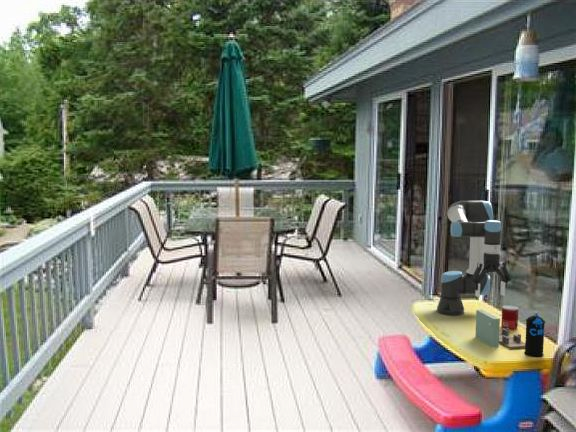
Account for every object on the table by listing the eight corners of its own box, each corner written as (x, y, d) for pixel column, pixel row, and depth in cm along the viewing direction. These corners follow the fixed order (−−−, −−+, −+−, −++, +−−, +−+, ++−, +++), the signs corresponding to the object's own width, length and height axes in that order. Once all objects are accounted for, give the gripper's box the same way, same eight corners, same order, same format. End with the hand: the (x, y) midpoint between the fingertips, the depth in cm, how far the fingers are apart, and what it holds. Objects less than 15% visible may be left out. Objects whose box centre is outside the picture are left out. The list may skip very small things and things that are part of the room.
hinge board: (482, 333, 300) (483, 325, 299) (500, 332, 302) (500, 324, 301) (510, 349, 276) (510, 340, 276) (529, 347, 278) (529, 339, 278)
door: (473, 337, 294) (474, 310, 292) (480, 336, 295) (481, 309, 293) (490, 347, 279) (491, 319, 277) (498, 347, 279) (499, 318, 278)
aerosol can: (520, 351, 274) (522, 309, 271) (537, 350, 274) (539, 309, 272) (529, 357, 266) (531, 314, 263) (547, 356, 266) (549, 314, 264)
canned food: (518, 330, 305) (519, 309, 304) (502, 329, 307) (503, 308, 305) (516, 325, 312) (517, 305, 311) (500, 324, 314) (501, 304, 313)
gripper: (472, 255, 275) (471, 299, 278) (519, 252, 281) (517, 296, 284) (464, 252, 283) (462, 295, 285) (510, 250, 288) (508, 292, 291)
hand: (490, 296), depth 284 cm, fingers open, 13 cm apart
